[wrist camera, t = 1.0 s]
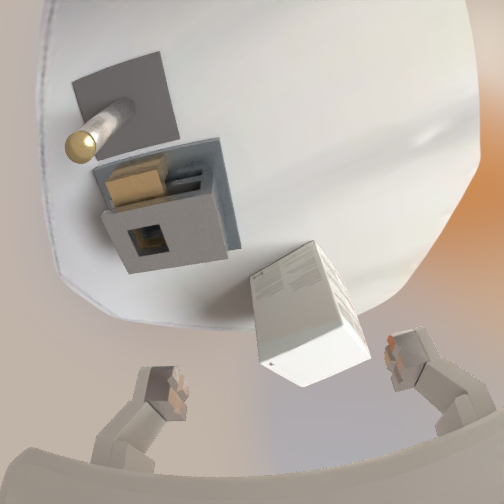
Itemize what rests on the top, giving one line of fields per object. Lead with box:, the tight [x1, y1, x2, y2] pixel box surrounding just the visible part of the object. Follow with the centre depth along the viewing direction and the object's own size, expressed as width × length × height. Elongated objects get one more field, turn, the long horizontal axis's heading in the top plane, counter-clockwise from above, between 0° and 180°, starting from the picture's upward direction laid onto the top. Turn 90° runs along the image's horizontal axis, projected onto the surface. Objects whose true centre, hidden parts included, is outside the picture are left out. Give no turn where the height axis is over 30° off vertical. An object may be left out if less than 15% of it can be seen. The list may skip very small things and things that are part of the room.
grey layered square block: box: [93, 138, 241, 274], centre depth 40 cm, size 18×18×8 cm
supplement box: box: [250, 241, 371, 387], centre depth 49 cm, size 13×13×18 cm
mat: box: [73, 51, 180, 161], centre depth 33 cm, size 12×12×1 cm
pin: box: [65, 97, 135, 164], centre depth 27 cm, size 3×3×14 cm
